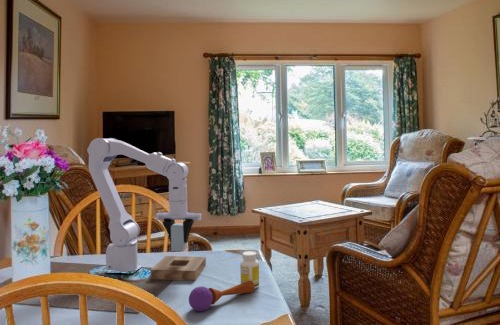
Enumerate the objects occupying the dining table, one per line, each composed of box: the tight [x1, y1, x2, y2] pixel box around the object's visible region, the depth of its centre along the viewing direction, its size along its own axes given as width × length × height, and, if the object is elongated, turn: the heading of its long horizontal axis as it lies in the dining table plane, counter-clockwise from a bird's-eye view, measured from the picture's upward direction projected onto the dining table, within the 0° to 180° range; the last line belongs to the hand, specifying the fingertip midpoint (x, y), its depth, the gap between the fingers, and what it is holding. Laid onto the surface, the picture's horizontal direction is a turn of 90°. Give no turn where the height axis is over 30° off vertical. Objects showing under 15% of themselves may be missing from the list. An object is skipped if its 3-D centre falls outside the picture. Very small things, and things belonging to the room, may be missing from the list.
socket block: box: [150, 255, 207, 282], centre depth 128 cm, size 14×14×3 cm
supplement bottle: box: [239, 250, 260, 290], centre depth 115 cm, size 5×5×10 cm
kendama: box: [188, 281, 255, 312], centre depth 104 cm, size 6×6×20 cm
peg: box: [170, 223, 188, 252], centre depth 127 cm, size 4×4×8 cm
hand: (179, 241), depth 127 cm, fingers closed on peg, 4 cm apart
